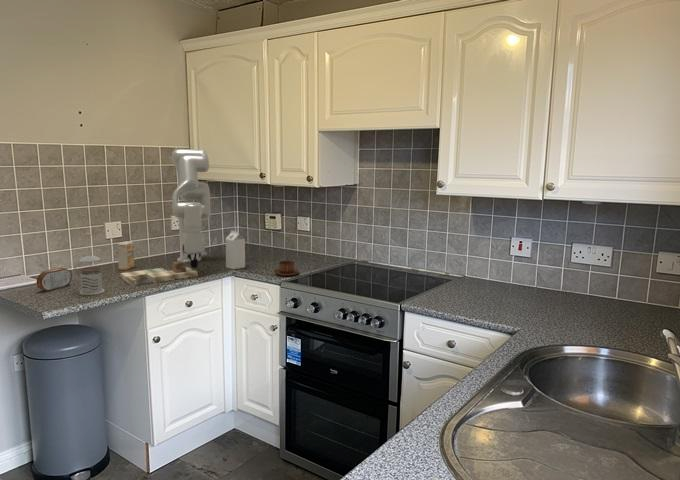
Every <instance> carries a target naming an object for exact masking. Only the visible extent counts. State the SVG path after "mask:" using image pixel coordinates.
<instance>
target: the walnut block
mask: <svg viewBox="0 0 680 480" xmlns="http://www.w3.org/2000/svg"><path fill="white" fill-rule="evenodd" d="M171 266H172V270H173V272H175V273H181V272H186V267H187V266H186V263H185V262H183V261H172V265H171Z"/></svg>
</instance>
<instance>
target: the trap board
mask: <svg viewBox="0 0 680 480" xmlns="http://www.w3.org/2000/svg"><path fill="white" fill-rule="evenodd" d="M119 274H120V279H121V280H122V281H124V282H126V283H127V284H128V285H130V286H131V287H137V286H143V285H149V284H155V283H162V282H163V281H164V282H169V280H171V281H175V279H177V280H183V279H182V278H184V279H189V278H188V277H191V278H198V270H195V269H194V268H191V267H188V266H186V272H181V273H175V272H173V269H172V270H167V269H164V268H162V267H159V268H151V269H150V268H149V269H142V270H136V271H130V272H121V273H119Z"/></svg>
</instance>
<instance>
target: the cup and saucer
mask: <svg viewBox="0 0 680 480" xmlns="http://www.w3.org/2000/svg"><path fill="white" fill-rule="evenodd" d="M299 272H300V271H299V269H297V268H295V261H291V260H281V261H279V262H278V268H276V269H274V272H273V273H275V274H276V275H278V276H283V277H290V276H295V275H297V274H298V273H299Z"/></svg>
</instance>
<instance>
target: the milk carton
mask: <svg viewBox="0 0 680 480" xmlns="http://www.w3.org/2000/svg"><path fill="white" fill-rule="evenodd" d="M245 241H246V239H245V238H244V237H243V236H242V235H241V234H240V231H237V230H236V231H235V230H230V233H229V234H228V235H227V236H226V238H225V267H226V268H228V269H231V270H238V269H244V268H246V242H245Z"/></svg>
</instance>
